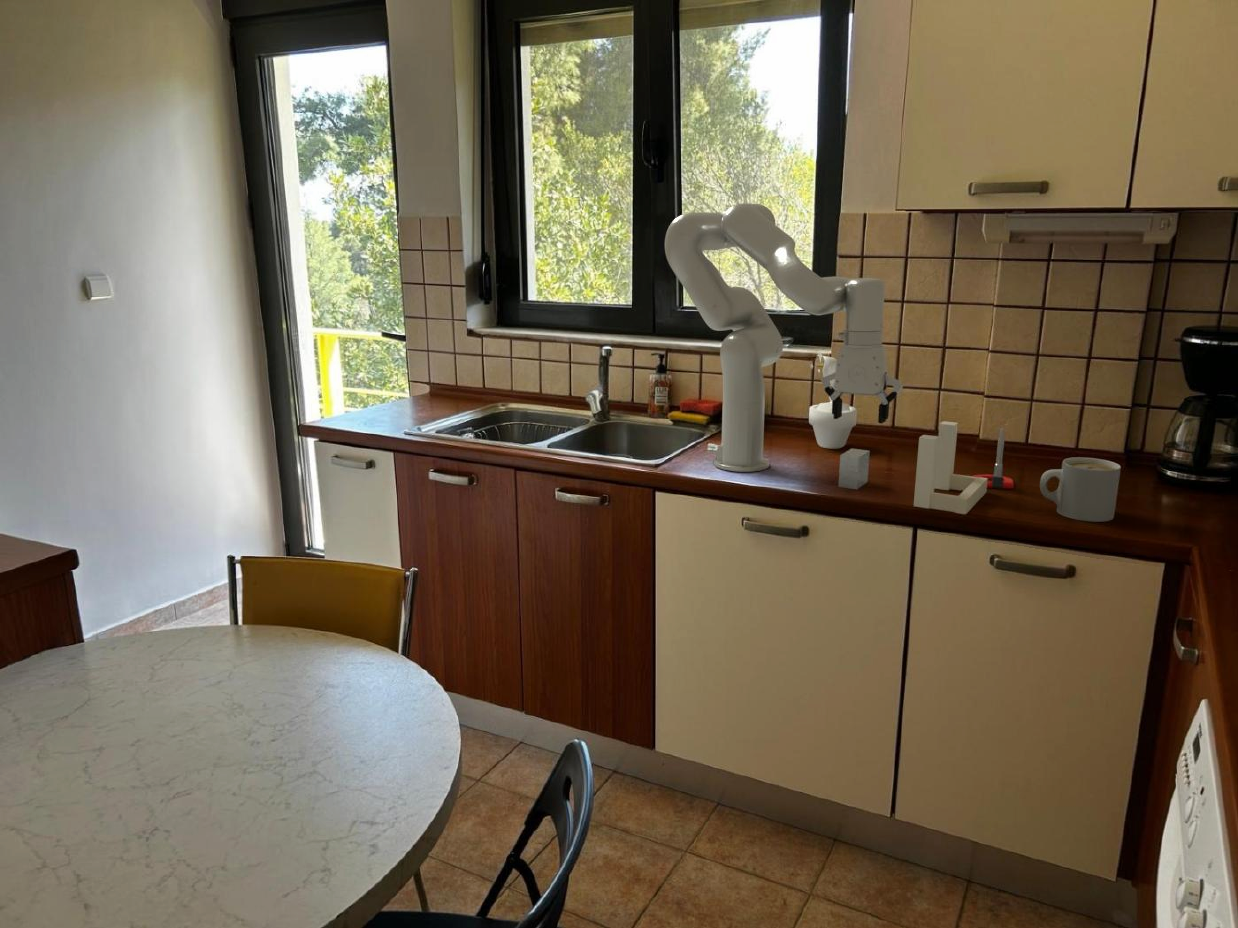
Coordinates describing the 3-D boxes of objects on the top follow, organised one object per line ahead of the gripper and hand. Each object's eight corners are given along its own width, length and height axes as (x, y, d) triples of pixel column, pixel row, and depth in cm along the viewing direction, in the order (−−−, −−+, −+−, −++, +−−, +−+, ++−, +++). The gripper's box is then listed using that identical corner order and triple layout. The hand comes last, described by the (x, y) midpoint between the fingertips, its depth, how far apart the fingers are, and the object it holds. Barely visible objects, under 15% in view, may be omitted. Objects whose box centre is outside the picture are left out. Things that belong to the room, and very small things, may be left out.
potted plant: (799, 442, 235) (804, 345, 229) (841, 439, 238) (847, 343, 231) (821, 454, 223) (827, 351, 217) (865, 451, 226) (872, 350, 220)
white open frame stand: (913, 506, 182) (919, 437, 179) (937, 484, 197) (943, 421, 193) (965, 514, 177) (972, 444, 174) (986, 492, 192) (993, 426, 188)
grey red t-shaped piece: (967, 478, 204) (976, 488, 195) (972, 421, 201) (982, 428, 192) (1006, 480, 202) (1018, 490, 193) (1012, 422, 200) (1024, 430, 191)
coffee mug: (1115, 510, 179) (1122, 461, 177) (1112, 524, 171) (1119, 473, 168) (1040, 500, 186) (1046, 452, 183) (1034, 513, 178) (1040, 463, 175)
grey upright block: (838, 486, 196) (840, 455, 194) (849, 479, 202) (851, 448, 200) (856, 489, 194) (858, 457, 192) (867, 481, 200) (869, 450, 198)
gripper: (816, 339, 191) (814, 419, 196) (899, 343, 182) (894, 427, 186) (829, 335, 197) (826, 413, 202) (910, 339, 188) (905, 420, 192)
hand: (859, 420), depth 194 cm, fingers open, 9 cm apart
